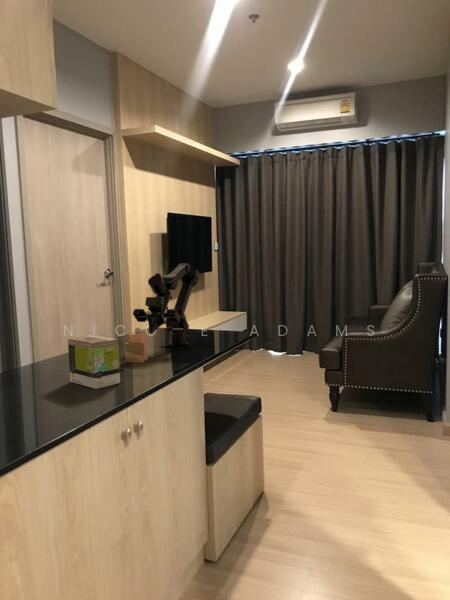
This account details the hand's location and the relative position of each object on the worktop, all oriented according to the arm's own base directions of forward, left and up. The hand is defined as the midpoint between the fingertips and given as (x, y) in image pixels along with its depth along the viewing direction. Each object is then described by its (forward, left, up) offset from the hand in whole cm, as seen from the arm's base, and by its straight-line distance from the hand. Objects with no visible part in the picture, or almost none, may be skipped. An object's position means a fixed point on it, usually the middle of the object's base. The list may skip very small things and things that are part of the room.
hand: (150, 333), depth 202 cm
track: (+4, +3, -10) cm, 11 cm away
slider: (+8, +6, -8) cm, 13 cm away
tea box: (+30, +23, -10) cm, 39 cm away
